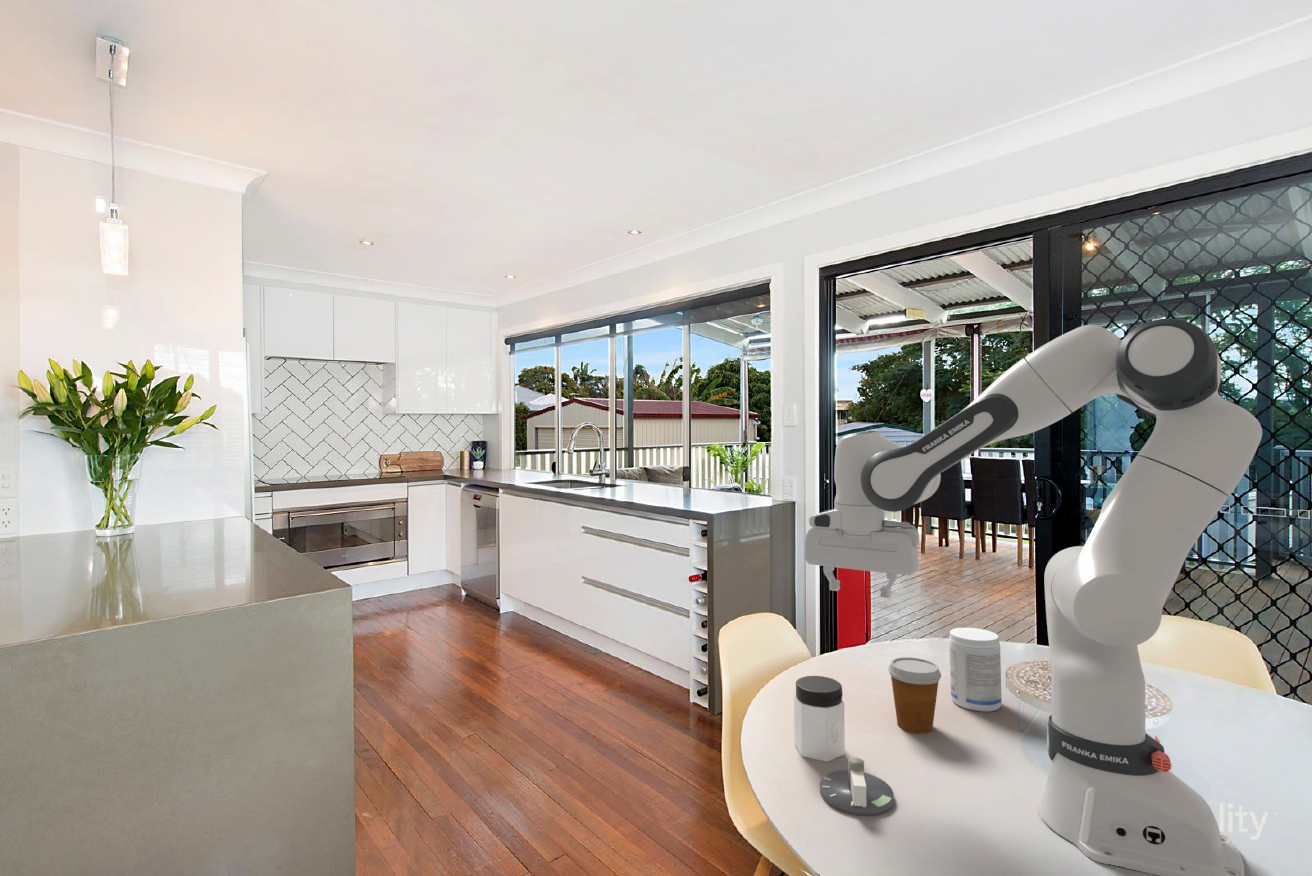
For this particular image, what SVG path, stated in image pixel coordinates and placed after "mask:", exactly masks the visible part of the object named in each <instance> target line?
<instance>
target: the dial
mask: <svg viewBox="0 0 1312 876" xmlns="http://www.w3.org/2000/svg"><path fill="white" fill-rule="evenodd" d="M864 779H865V783H866V807H863V806H854V804H853V799H852V793H851V789H850V788H849V787H848V769H847V770H846V769H845V770H844V769H843V770H836V771H835V770H834V771H831V772H828V773H827V774H825V775H823V777H822V778H820V781H819V794H820V796H821V798H822V799H823V801H824V802H825V803H827V804H828V805H829V806H830V807H832V808H834V809H835V810H837V811H840V812H842V813H846V814H849V815H853V816H859V817H875V816H880V815H883V814H886V813H887V812H889V811H890V810H891V809H892V808H893V806H894V803H895V799H894V798H895V795H894V791H893V789H892V787H891V786H890V784H889V783H887V782H886V781H884V780H883V779H881V778H880V777H878V776H876V775H873V774H871V773H867V772H864Z"/></svg>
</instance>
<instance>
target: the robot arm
mask: <svg viewBox="0 0 1312 876" xmlns="http://www.w3.org/2000/svg"><path fill="white" fill-rule="evenodd" d="M1222 384H1223V383H1222V362H1221V357H1220V356H1219V353H1218V351H1217V348H1216V345H1215V342H1214V341H1213V339H1212V337H1211V336H1210V335H1209V334H1208V333H1207V332H1206V331H1205V330H1204V329H1203V328H1201V327H1200V326H1198V325H1196V324H1195V323H1193V322H1190V321H1187V320H1184V319H1179V318H1160V319H1158V318H1157V319H1154V320H1151V321H1148V322H1145V323H1143V324H1141V325H1138V326H1137V327H1135V328H1134V329H1132V330H1131V331H1130V332H1129V333H1127V335H1125V337H1124V338H1123V339H1120V337H1118V336H1117V335H1116V334H1115V333H1113V332H1112V331H1111V330H1110V329H1107V328H1105V327H1103V326H1099V325H1095V324H1085V325H1081V326H1078V327H1076V328H1074V329H1072V330H1070V331H1068V332H1066V333H1064V334H1062V335H1061V334H1060V335H1059V336H1057V337H1055V338H1054V339H1052V340H1051V341H1048V342H1047V343H1045V344H1043V345H1041V346H1039V347H1038V348H1037V349H1035V350H1033V351H1032V352H1030V353H1029V354H1027V355H1025V356H1024V357H1023V358H1021V359H1020V360H1019V361H1017V362H1016V363H1015V364H1013V365H1012V366H1011V367H1010V368H1008V369H1007V370H1005V371H1004V372H1003V373H1002V374H1001V375H1000V376H999V377H998V378H996V379H995V380H994V381H993V382H992V383H991V384H990V385H989V386H988V387H986V388H985V390H983V391H982V392H981V393H980V394H979V395H978V396H976V398H975V399H973V400H972V401H971V402H970V403H969V404H968V405H967V406H966V407H964V408H963V409H962V410H961V411H960V412H958V413H957V414H955V415H953V416H952V417H950V418H949V419H948V420H946V421H944V422H943V423H941V424H940V425H938V426H937V427H935V428H934V429H932V430H931V431H929V432H927V433H926V434H924V435H923V436H921V437H920V438H918V439H916V440H915V441H913V442H912V443H910V444H908V445H905V446H904V445H901V444H899V443H897V442H895V441H893V440H891V439H889V438H887V437H885V436H884V435H883V434H882V433H881V432H880V431H875V430H866V431H858V432H853V433H849V434H848V433H847V434H846V435H844V436H842V437H841V438H840V439H839V440H838V441H837V444H836V448H835V454H834V455H835V456H834V466H833V467H834V471H833V473H834V474H833V477H834V484H835V487H836V492H835V493H836V494H835V497H834V501H833V502H834V508H833V509H832V508H831V509H827V510H824V511H821V512H818V513H815V514H813V515H811V516H809V518H808V523H809V526H810V527H811V528H809V529H808V530H807V532H806V536H805V543H804V560H805V561H806V562H807V564H808V565H813V566H823V574H824V576H825V577H826V578H827V580H828V583H829V584H828V586H829V588H828V589H829V590H830V591H835V592H839V591H840V589H841V585H840V584H841V580H840V579H839V580H838V579H836V577H835V575H834V573H833V572H834V570H835V568H837V569H838V568H839V569H847V570H849V569H850V570H857V571H866V572H873V573H874V572H875V573H882V574H883V573H884V574H886V579H887V580H888V582H887V584H886V585H882V586H881V587H880V589H879V590H880V593H879V594H880V595H879V596H880V598H885V599H886V598H887V599H890V598H891V597H892V587H893V586H894V585H895V583H896V582H897V580H898V578H899V575H902V576H913V575H914V574H915V573H916V572H917V571H918V570H919V555H918V549H917V547H918V545H919V542H920V541H919V540H920V537H919V534H920V533H919V530H918V529H917V527H915V526H914V525H913V524H911V523H910V522H908V521H894V520H885V511H886V512H892V513H894V512H901V511H905V510H907V509H909V508H910V507H912V506H913V505H916V504H919V503H921V502H923V501H926V500H927V499H929V498H931V497H932V496H933V495H934V494H935V493H936V492H937V491H938V490H939V487H940V485H941V481H942V474H941V473H943V472H944V471H947V470H948V469H950V468H952V467H953V466H954V465H956V464H957V463H959V462H961V461H962V460H963V459H966V458H967V457H969V456H970V455H971V454H973V453H974V452H977V451H978V450H980V449H982V448H984V447H987V446H989V445H991V444H994V443H997V442H1000V441H1004V440H1008V439H1013V438H1016V437H1022V436H1025V435H1029V434H1033V433H1035V432H1037V431H1039V430H1042V429H1044V428H1047V427H1049V426H1050V425H1053V424H1055V423H1057V422H1058V421H1060V420H1063V419H1064V418H1065V417H1067V416H1069V415H1071V414H1072V413H1074V412H1075V411H1077V410H1078V409H1080V408H1082V407H1083V406H1086V405H1087V404H1088V403H1089V402H1092V401H1093V400H1095V399H1097V398H1099V397H1102V396H1105V395H1115V396H1116V398H1118V399H1119V400H1122V401H1123V402H1125V403H1127V404H1128V405H1130V406H1132V407H1134V408H1136V409H1137V410H1139V411H1141V412H1143V413H1144V414H1145V415H1147V416H1151V417H1153V418H1156V420H1155V424H1154V428H1153V431H1152V433H1151V435H1150V436H1149V437H1148V438H1147V441H1146V442H1145V444H1144V445H1143V447H1142V448H1141V449H1140V451H1139V452H1138V453H1137V454H1136V456H1135V458H1133V460H1132V462H1131V463H1130V464H1129V466H1128V467H1127V469H1126V470H1125V471H1124V473H1123V474H1122V476H1121V477H1120V478H1119V480H1118V481H1117V483H1116V484H1115V485H1114V487H1113V488H1112V489H1111V491H1110V492H1109V494H1107V496H1106V498H1105V500H1104V501H1103V503H1102V505H1101V510H1100V513H1099V516H1098V517H1097V518H1096V521H1095V524H1094V527H1092V530H1091V533H1090V534H1089V536H1088V538H1087V540H1086V542H1085V544H1084V545H1078V546H1077V545H1076V546H1071V547H1067V548H1064V549H1062V550H1060V551H1058V552H1057V553H1055V554H1054V555H1053V556H1052V557H1050V559H1049V560H1048V562H1047V565H1046V567H1045V570H1044V574H1043V575H1044V577H1043V578H1044V581H1043V582H1044V600H1045V614H1046V617H1045V618H1046V625H1047V627H1046V628H1047V638H1048V647H1049V649H1048V650H1049V658H1050V685H1051V686H1050V690H1051V691H1050V692H1051V693H1050V694H1051V695H1050V696H1051V697H1050V698H1051V703H1050V704H1051V707H1050V708H1051V709H1050V710H1051V714H1050V715H1049V716H1048V721H1047V726H1046V744H1047V746H1046V747H1047V749H1046V750H1047V752H1048V753H1047V754H1048V757H1049V765H1048V773H1047V779H1046V784H1045V788H1044V792H1043V797H1042V799H1041V802H1040V805H1039V809H1038V811H1039V815H1040V817H1041V819H1042V820H1043V821H1044V823H1045V824H1046V825H1047V826H1048V827H1049V828H1050V829H1052V831H1054V832H1055V833H1056V834H1058V835H1060V836H1061V837H1062V838H1064V839H1066V840H1067V841H1069V842H1071V843H1072V844H1074V845H1075V846H1076V847H1078V849H1079V850H1081V852H1082V853H1083V855H1085V856H1087V857H1088V858H1089V857H1090V858H1091V860H1092V861H1095V862H1097V863H1101V864H1106V865H1109V864H1112V865H1111V866H1114V865H1115V866H1114V867H1118V866H1121V867H1120V868H1123V867H1124V869H1129V870H1133V871H1137V872H1141V873H1147V874H1151V875H1156V876H1246V872H1245V865H1244V861H1243V857H1242V856H1241V853H1240V851H1239V849H1238V848H1237V846H1236V845H1235V844H1234V843H1233V841H1232V840H1231V839H1230V838H1229V837H1228V836H1227V835H1225V834H1224V833H1223V832H1222V831H1220V829H1219V824H1218V823H1217V819H1216V816H1215V815H1214V812H1213V810H1212V809H1211V807H1210V806H1209V804H1208V802H1207V801H1206V800H1205V799H1204V797H1203V796H1202V795H1201V794H1200V793H1199V792H1197V791H1196V790H1195V789H1194V788H1192V787H1191V786H1189V784H1187V783H1186V782H1185V781H1183V780H1182V779H1180V777H1179V776H1177V775H1176V774H1175V773H1173V772H1172V771H1171V770H1172V763H1171V759H1170V757H1169V756H1168V754H1167V753H1165V747H1164V746H1163V744H1161V741H1160V740H1159V737H1157V735H1154V738H1153V737H1152V736H1150V734H1147V733H1146V678H1145V675H1144V672H1143V668H1142V664H1141V663H1142V662H1141V658H1140V653H1139V646H1138V645H1141V644H1143V643H1145V642H1146V641H1148V640H1150V639H1151V638H1152V637H1153V636H1154V635H1155V634H1156V633H1157V631H1158V629H1159V628H1160V626H1161V622H1162V617H1163V616H1162V615H1163V609H1164V605H1165V603H1166V601H1167V599H1168V597H1169V595H1170V594H1171V591H1172V590H1173V588H1174V585H1175V583H1176V581H1177V578H1178V577H1179V574H1180V572H1181V570H1182V567H1183V566H1184V563H1185V562H1186V559H1187V557H1188V555H1189V553H1190V551H1191V550H1192V547H1193V546H1194V545H1195V543H1196V542H1197V540H1198V539H1199V538H1200V536H1201V535H1202V533H1203V532H1204V531H1205V529H1206V528H1207V527H1208V525H1209V524H1210V523H1211V522H1212V520H1213V519H1214V517H1215V516H1216V515H1217V513H1218V512H1219V511H1220V509H1221V508H1222V507H1223V506H1224V504H1225V503H1226V501H1227V500H1228V498H1229V497H1230V496H1231V495H1232V493H1233V491H1235V489H1236V487H1237V486H1238V485H1239V483H1240V481H1241V480H1242V478H1243V477H1244V475H1245V473H1246V471H1247V470H1248V468H1249V466H1250V464H1251V463H1252V460H1253V459H1254V456H1255V454H1256V452H1257V449H1258V447H1259V445H1260V443H1261V440H1262V438H1263V437H1262V436H1263V428H1262V426H1261V423H1260V422H1259V420H1258V419H1257V418H1256V417H1255V416H1254V415H1253V414H1252V413H1251V412H1250V411H1248V410H1247V409H1245V408H1244V407H1242V406H1240V405H1238V404H1235V403H1233V402H1230V401H1228V400H1226V399H1224V398H1223V397H1222V396H1220V393H1221V390H1222ZM1090 858H1089V859H1090Z"/></svg>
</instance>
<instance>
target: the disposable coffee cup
mask: <svg viewBox="0 0 1312 876" xmlns="http://www.w3.org/2000/svg"><path fill="white" fill-rule="evenodd" d="M889 663H890V664H889V666H888V668H887V669H888V673H889V675H890V677H891V679H890V680H891V686H892V687H891V688H892V693H893V701H894V707H895V715H896V723H897V724H896V725H897V727H899V729H901V730H903V731H905V732H908V733H912V734H921V735H923V734H930V733H931V732H932V731H933V728H934V721H935V713H936V712H935V711H936V703H937V696H938V690H939V689H938V688H939V681H940V680H941V678H942V673H941V671H940V669H939V665H937V664H936V663H935V662H933V661H931V660H927V659H924V658H920V657H911V656H901V657H896V658H893V659H892V660H890V662H889Z"/></svg>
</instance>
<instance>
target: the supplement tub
mask: <svg viewBox="0 0 1312 876" xmlns="http://www.w3.org/2000/svg"><path fill="white" fill-rule="evenodd" d="M948 638H949V675H950V679H949V680H950V699H951V700H952V702H953V703H955V704H956V706H959V707H960V708H963V709H967V710H970V711H975V712H979V713H980V712H985V713H986V712H987V713H988V712H994V711H998V710H999V709H1000V708H1001V707H1002V703H1003V702H1002V663H1001V662H1002V661H1001V644H1000V638H999V635H998V634H997V633H995V632H994V631H991V630H987V629H983V628H975V627H955V628H952V629H951V630H950V631H949V637H948Z"/></svg>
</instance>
